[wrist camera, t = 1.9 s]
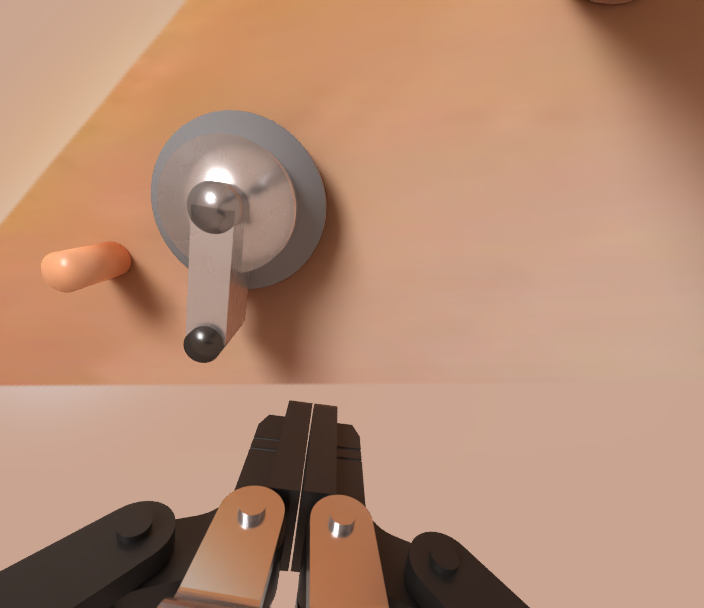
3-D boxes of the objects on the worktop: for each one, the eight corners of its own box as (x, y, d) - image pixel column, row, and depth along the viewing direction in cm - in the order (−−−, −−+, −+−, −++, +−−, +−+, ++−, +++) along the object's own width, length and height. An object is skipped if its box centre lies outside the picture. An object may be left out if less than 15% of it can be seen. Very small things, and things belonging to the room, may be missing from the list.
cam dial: (176, 128, 19) (128, 108, 15) (306, 151, 20) (296, 138, 16) (171, 322, 22) (130, 352, 18) (283, 339, 23) (269, 372, 19)
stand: (247, 79, 21) (222, 47, 17) (358, 213, 23) (362, 217, 19) (81, 249, 23) (22, 261, 19) (197, 356, 26) (167, 388, 21)
